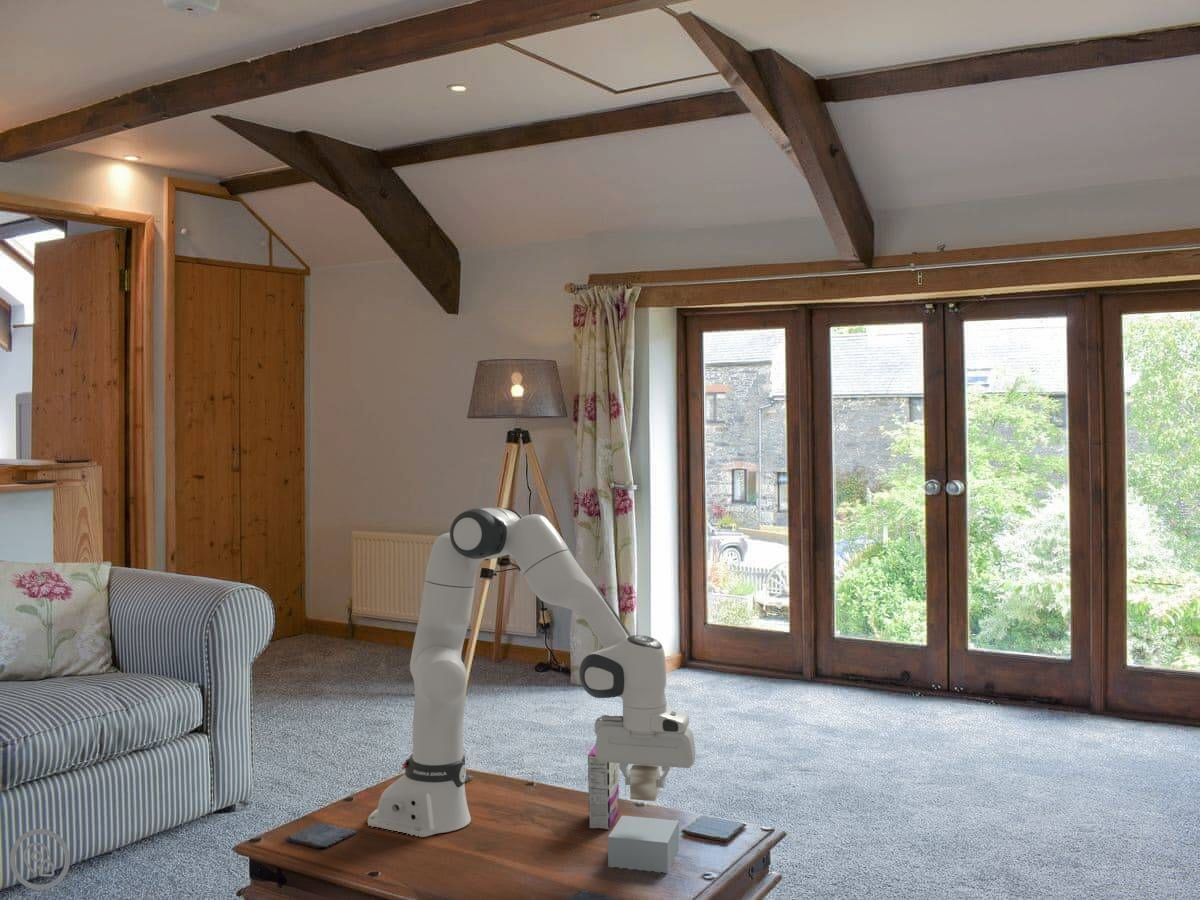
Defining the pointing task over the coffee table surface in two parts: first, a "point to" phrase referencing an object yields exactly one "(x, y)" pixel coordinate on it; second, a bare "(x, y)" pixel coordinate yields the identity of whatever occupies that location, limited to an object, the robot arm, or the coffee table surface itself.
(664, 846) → the slate block
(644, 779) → the cream block
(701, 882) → the coffee table surface
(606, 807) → the candy bar box
